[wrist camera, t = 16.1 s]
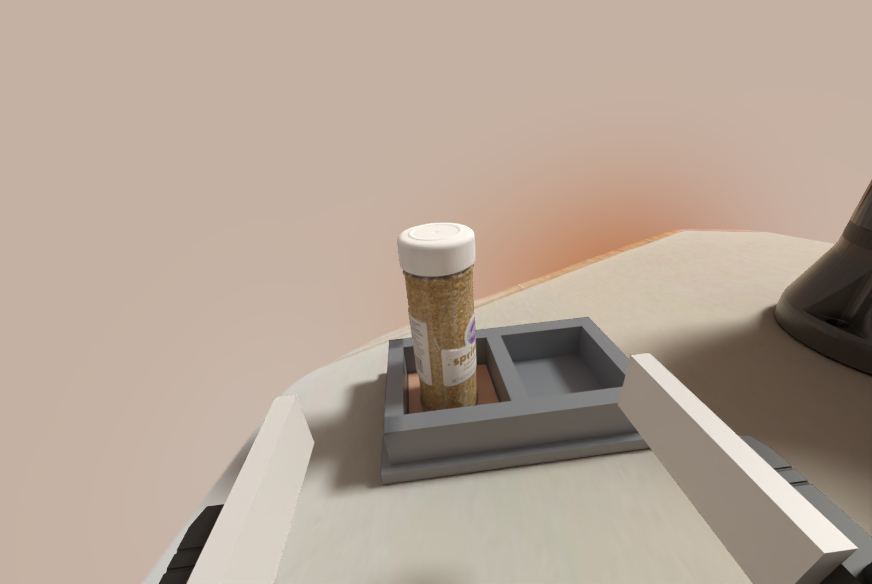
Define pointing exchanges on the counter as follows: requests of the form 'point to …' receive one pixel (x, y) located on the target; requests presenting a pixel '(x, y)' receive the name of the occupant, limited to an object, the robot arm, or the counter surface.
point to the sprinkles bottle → (441, 311)
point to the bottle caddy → (511, 404)
